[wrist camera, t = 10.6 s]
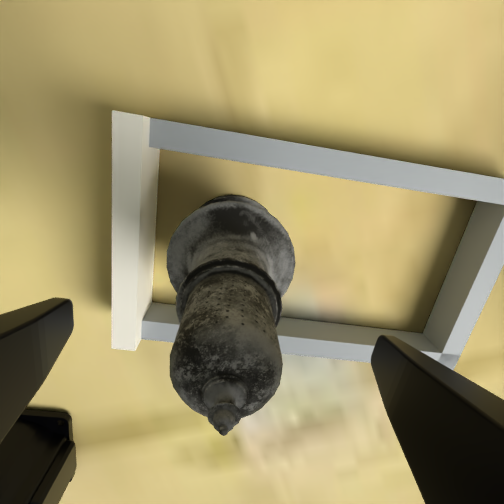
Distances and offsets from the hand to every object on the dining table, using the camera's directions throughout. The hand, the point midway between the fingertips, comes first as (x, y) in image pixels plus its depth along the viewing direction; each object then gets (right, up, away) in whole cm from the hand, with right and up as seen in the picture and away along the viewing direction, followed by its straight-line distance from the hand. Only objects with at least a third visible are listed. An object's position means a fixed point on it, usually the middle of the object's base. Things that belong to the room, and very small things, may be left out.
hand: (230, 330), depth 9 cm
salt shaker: (-1, +3, +8) cm, 9 cm away
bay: (+4, +2, +9) cm, 10 cm away
